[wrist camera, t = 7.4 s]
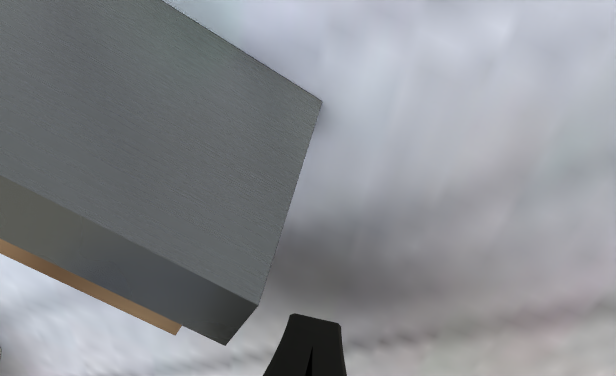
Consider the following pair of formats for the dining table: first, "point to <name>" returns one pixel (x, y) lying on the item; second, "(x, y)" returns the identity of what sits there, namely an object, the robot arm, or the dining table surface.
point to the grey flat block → (147, 155)
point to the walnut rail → (88, 287)
